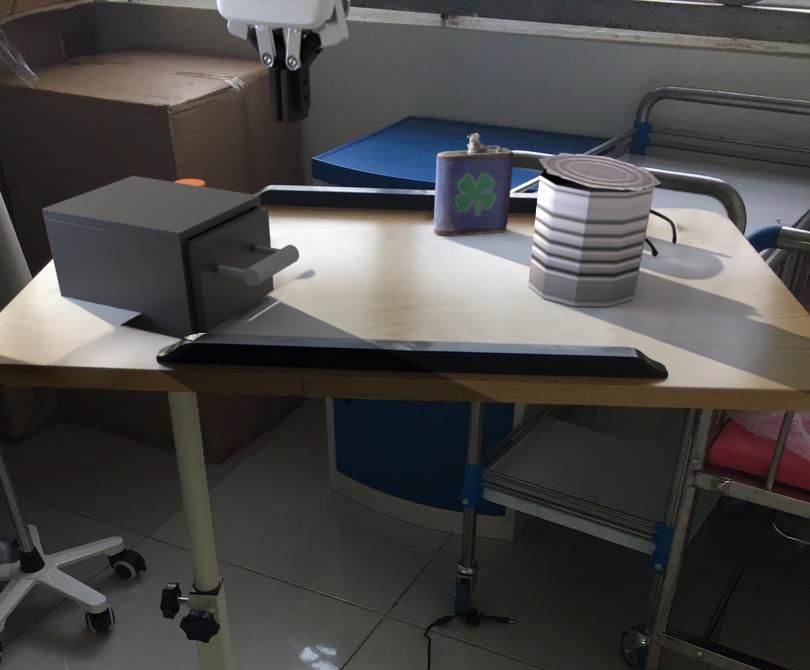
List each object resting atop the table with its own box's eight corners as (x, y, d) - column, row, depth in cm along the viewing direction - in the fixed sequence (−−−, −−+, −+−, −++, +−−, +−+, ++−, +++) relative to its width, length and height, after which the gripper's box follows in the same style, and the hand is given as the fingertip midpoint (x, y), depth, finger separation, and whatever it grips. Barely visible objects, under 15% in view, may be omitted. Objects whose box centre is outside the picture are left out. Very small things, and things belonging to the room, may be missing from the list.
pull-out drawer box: (313, 298, 86) (309, 215, 81) (249, 341, 77) (241, 252, 73) (160, 268, 91) (149, 189, 87) (86, 305, 83) (69, 220, 78)
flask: (436, 237, 104) (440, 139, 98) (429, 229, 106) (433, 133, 100) (510, 232, 106) (519, 136, 100) (501, 225, 108) (510, 130, 102)
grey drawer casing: (267, 295, 88) (260, 195, 83) (193, 341, 79) (179, 233, 73) (147, 271, 93) (132, 175, 87) (64, 312, 84) (41, 208, 78)
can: (558, 260, 98) (573, 145, 91) (655, 284, 93) (679, 163, 86) (506, 290, 91) (518, 166, 84) (608, 317, 85) (630, 188, 78)
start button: (194, 204, 100) (192, 188, 99) (168, 200, 101) (166, 184, 100) (212, 196, 103) (211, 181, 102) (187, 192, 104) (185, 177, 103)
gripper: (162, -158, 64) (192, 117, 75) (343, -156, 59) (347, 138, 70) (222, -153, 70) (242, 103, 81) (392, -151, 65) (389, 121, 76)
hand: (291, 119), depth 75 cm, fingers closed
